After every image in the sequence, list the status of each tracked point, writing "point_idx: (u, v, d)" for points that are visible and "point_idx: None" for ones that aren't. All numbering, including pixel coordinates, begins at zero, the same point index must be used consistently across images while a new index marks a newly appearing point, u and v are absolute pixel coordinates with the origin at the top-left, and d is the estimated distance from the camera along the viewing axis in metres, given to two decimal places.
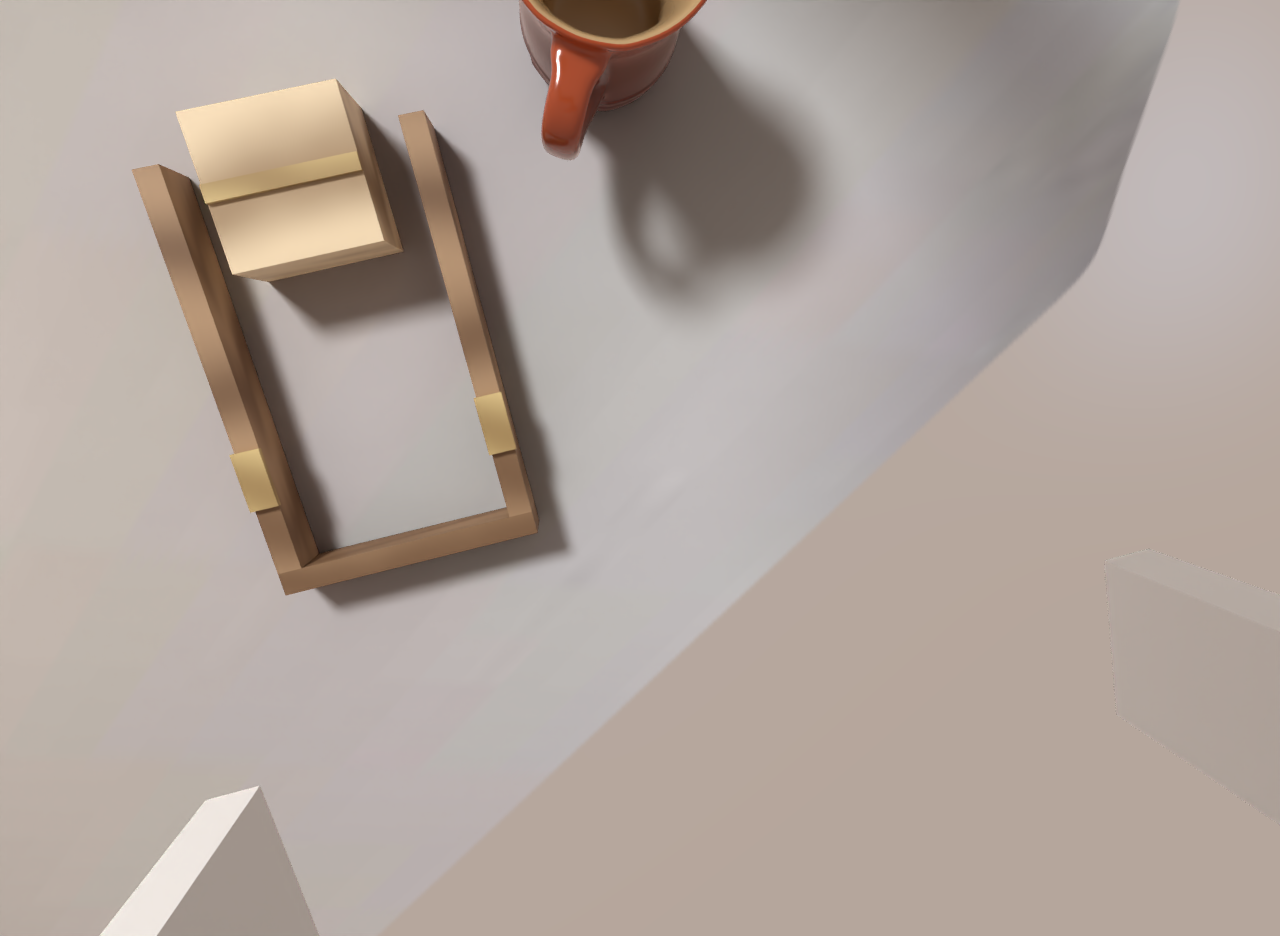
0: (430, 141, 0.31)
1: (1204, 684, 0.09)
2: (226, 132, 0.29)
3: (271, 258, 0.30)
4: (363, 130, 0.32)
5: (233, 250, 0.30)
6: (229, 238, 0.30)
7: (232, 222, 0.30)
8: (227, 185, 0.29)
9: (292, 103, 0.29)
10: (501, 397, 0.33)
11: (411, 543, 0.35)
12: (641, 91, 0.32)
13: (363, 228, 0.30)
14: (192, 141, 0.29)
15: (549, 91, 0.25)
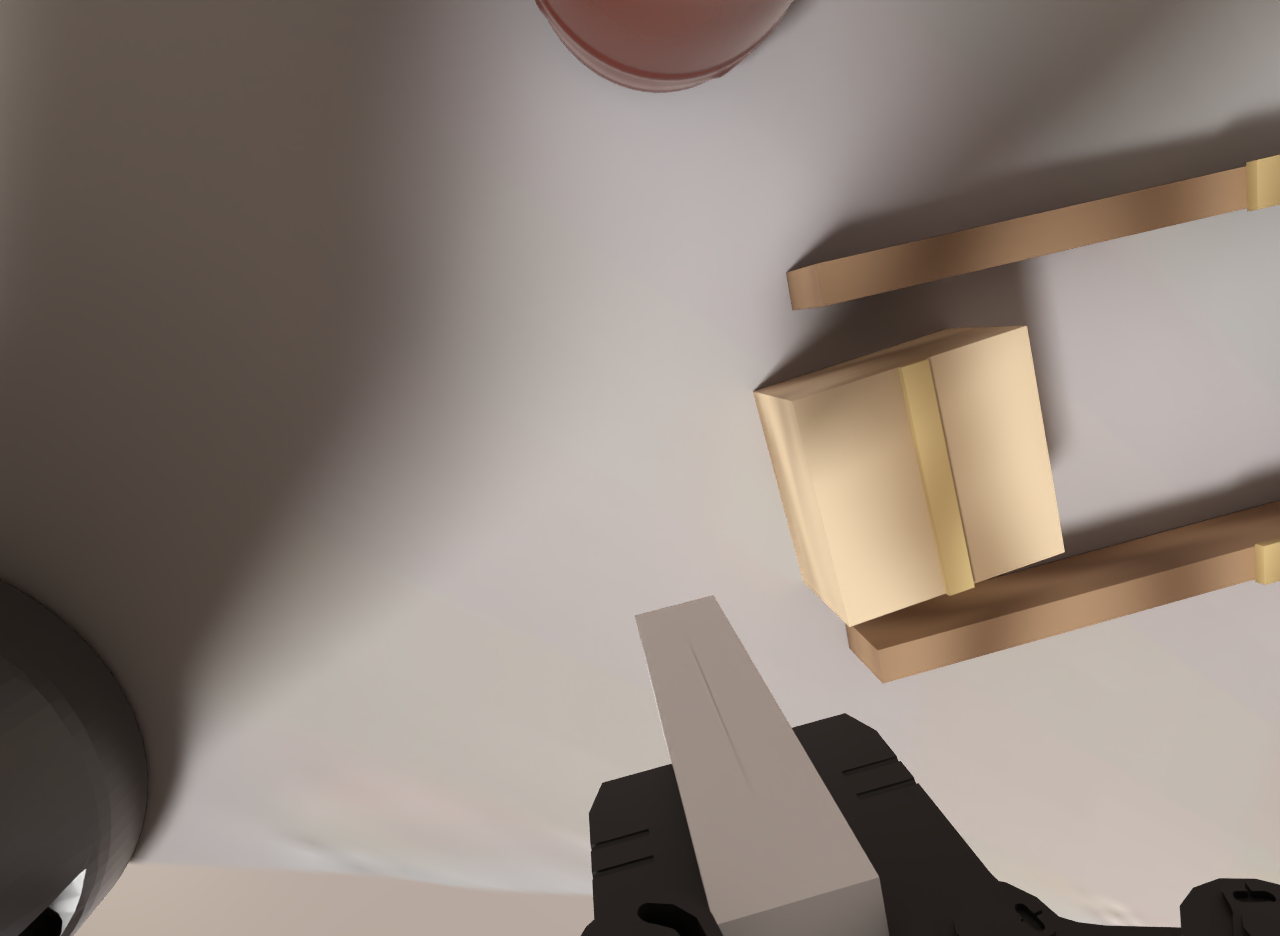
0: (861, 256, 0.19)
1: None
2: (874, 559, 0.19)
3: (1046, 497, 0.19)
4: (804, 380, 0.21)
5: (1032, 550, 0.20)
6: (1016, 555, 0.20)
7: (995, 551, 0.20)
8: (950, 557, 0.19)
9: (831, 466, 0.18)
10: (1263, 160, 0.19)
11: None
12: None
13: (1008, 358, 0.19)
14: (887, 604, 0.20)
15: None
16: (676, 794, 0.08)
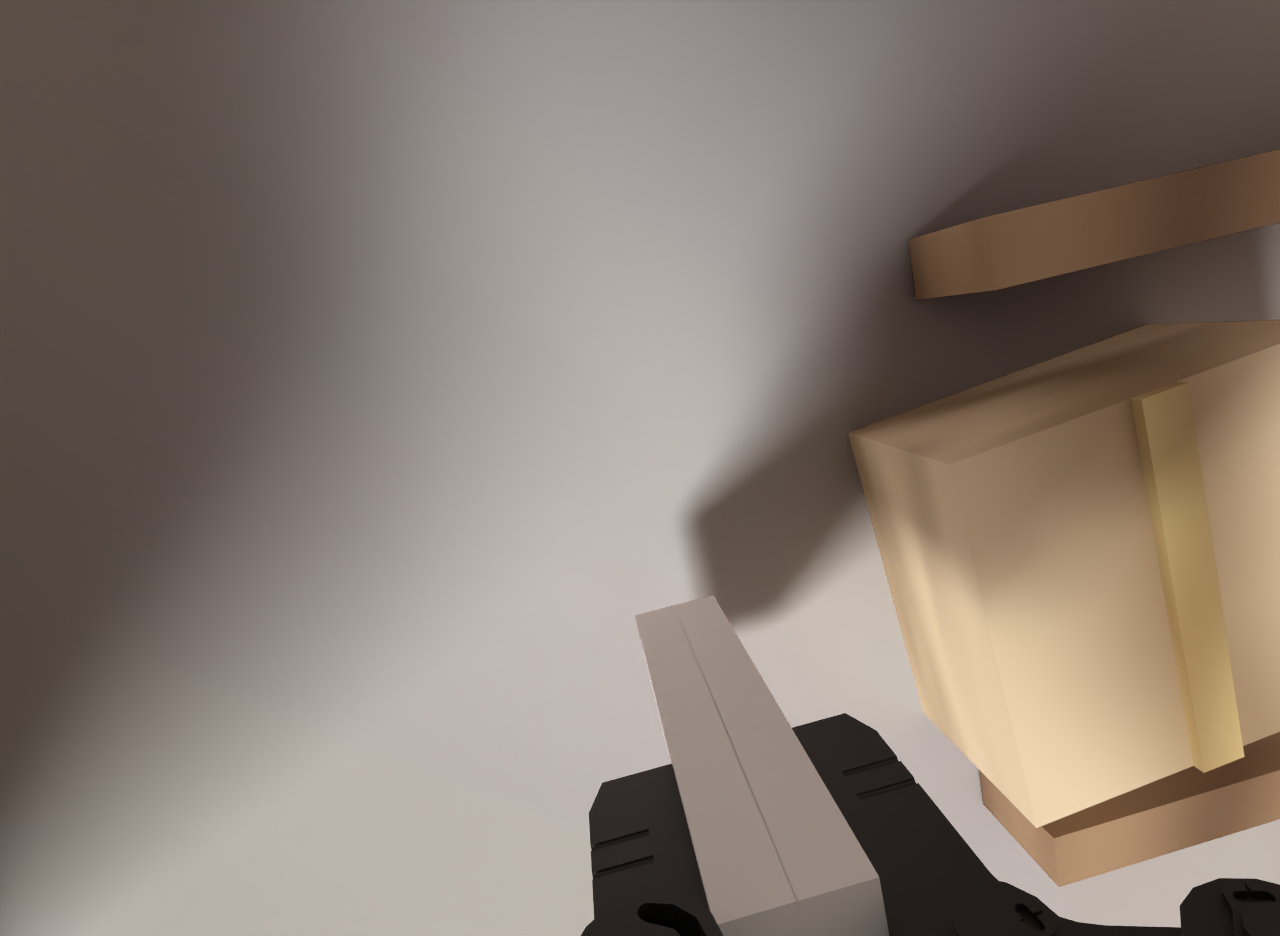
0: (1063, 203, 0.11)
1: None
2: (1080, 719, 0.11)
3: None
4: (936, 416, 0.13)
5: None
6: None
7: (1275, 695, 0.12)
8: (1208, 712, 0.11)
9: (1014, 571, 0.11)
10: None
11: None
12: None
13: None
14: (1098, 789, 0.12)
15: None
16: (676, 795, 0.08)
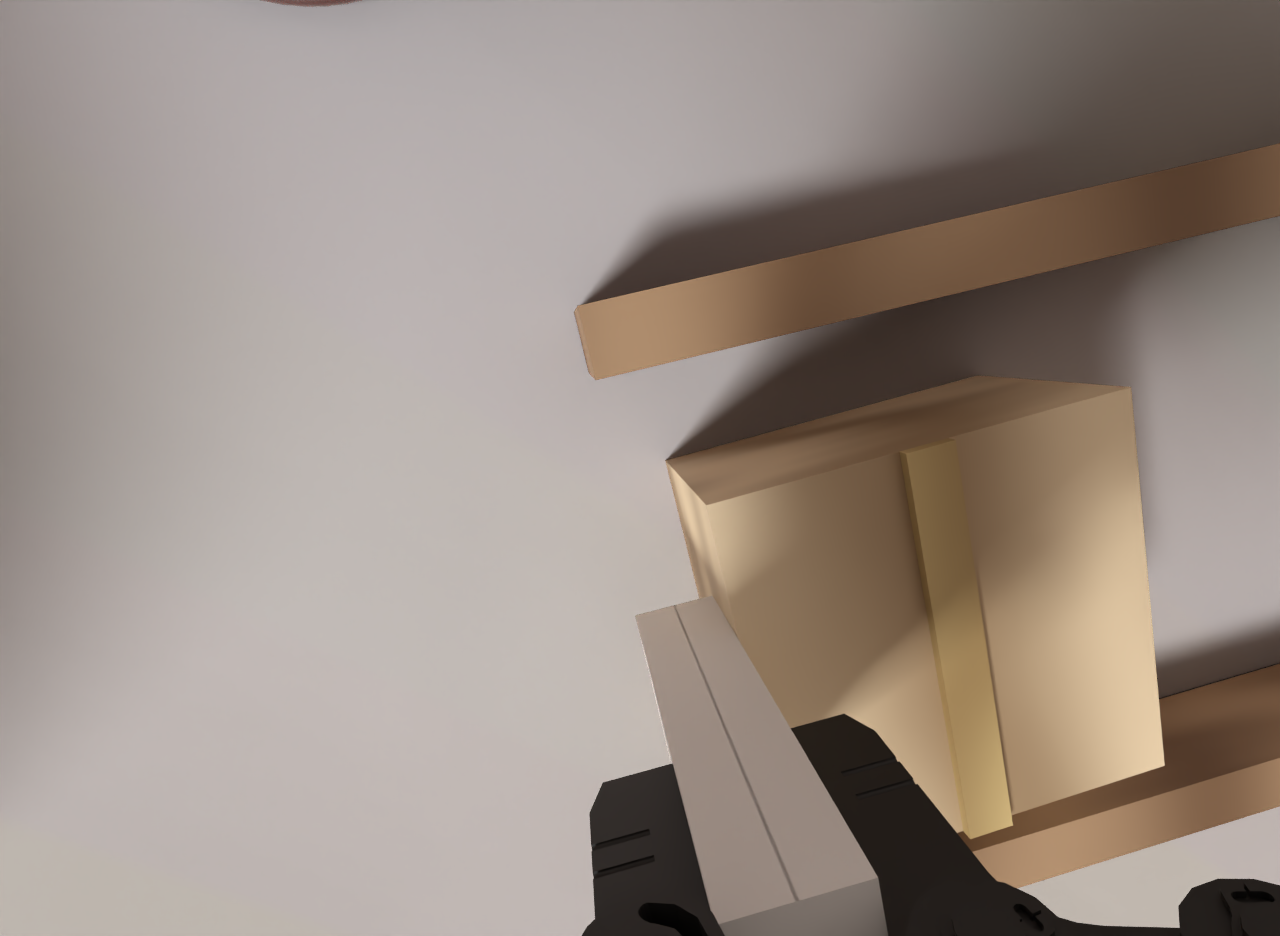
0: (661, 290, 0.11)
1: None
2: None
3: (1141, 677, 0.11)
4: (744, 452, 0.13)
5: (1112, 762, 0.12)
6: (1085, 771, 0.12)
7: (1049, 764, 0.12)
8: (975, 777, 0.11)
9: (774, 619, 0.10)
10: None
11: None
12: None
13: (1094, 443, 0.10)
14: None
15: None
16: (676, 794, 0.08)
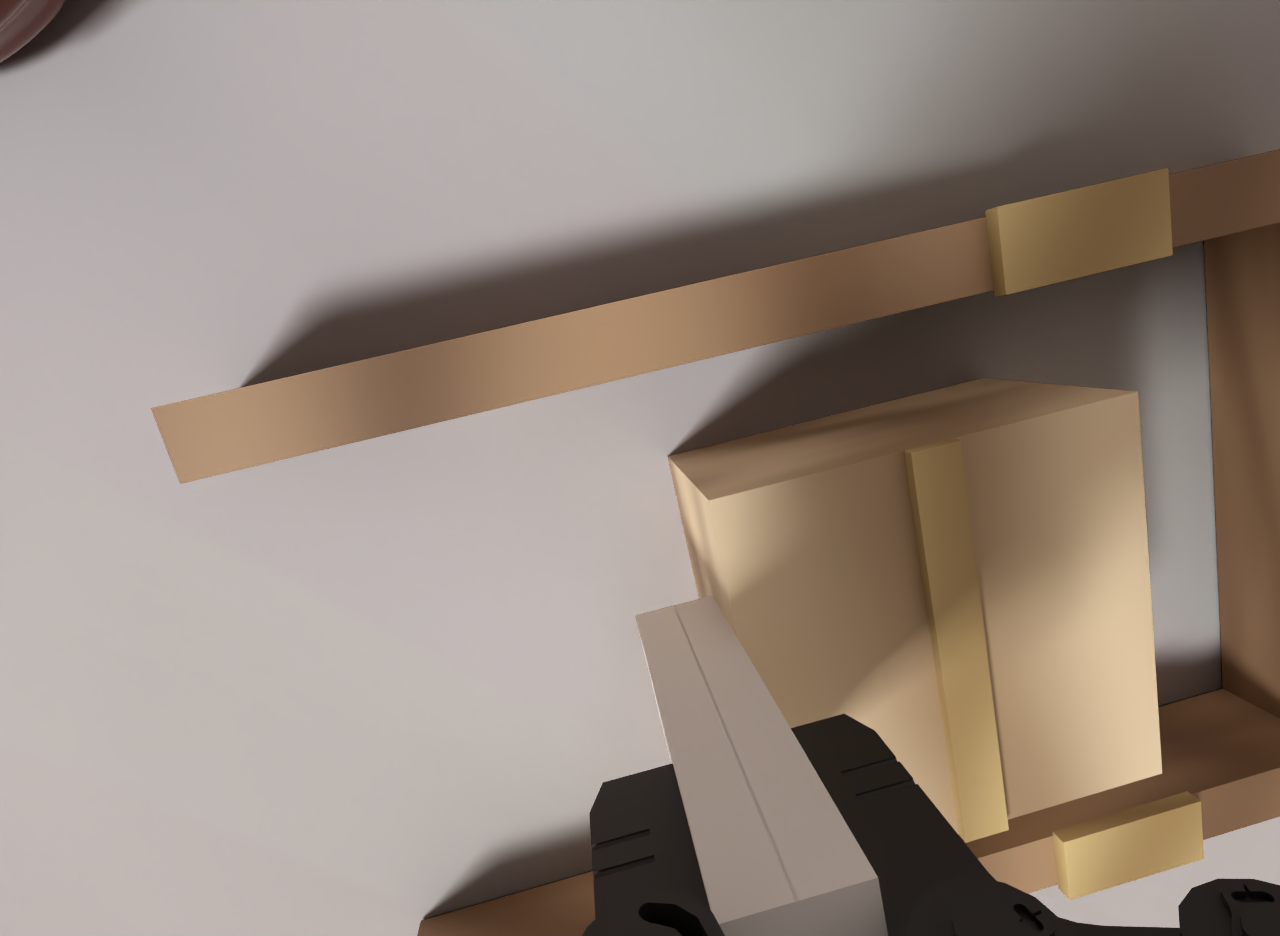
0: (242, 392, 0.10)
1: None
2: None
3: (1141, 684, 0.11)
4: (747, 449, 0.13)
5: (1109, 769, 0.12)
6: (1082, 777, 0.12)
7: (1047, 769, 0.11)
8: (972, 780, 0.11)
9: (774, 616, 0.10)
10: (1011, 206, 0.11)
11: None
12: None
13: (1100, 447, 0.10)
14: None
15: None
16: (676, 794, 0.08)
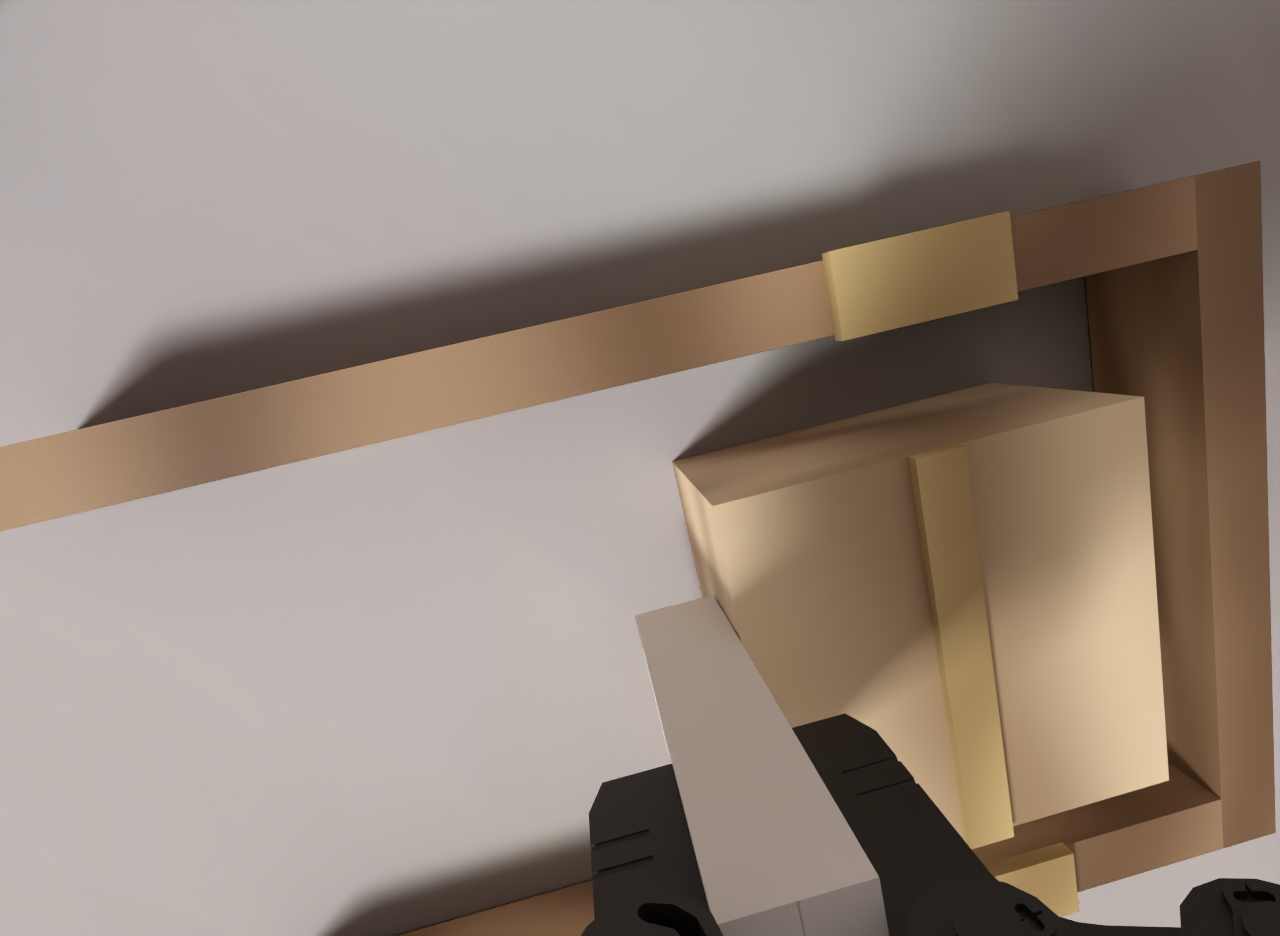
0: (41, 442, 0.10)
1: None
2: None
3: (1147, 690, 0.11)
4: (751, 454, 0.12)
5: (1116, 776, 0.12)
6: (1088, 783, 0.12)
7: (1052, 776, 0.11)
8: (977, 787, 0.11)
9: (778, 622, 0.10)
10: (845, 250, 0.10)
11: (1216, 538, 0.12)
12: None
13: (1105, 453, 0.10)
14: None
15: None
16: (675, 793, 0.08)
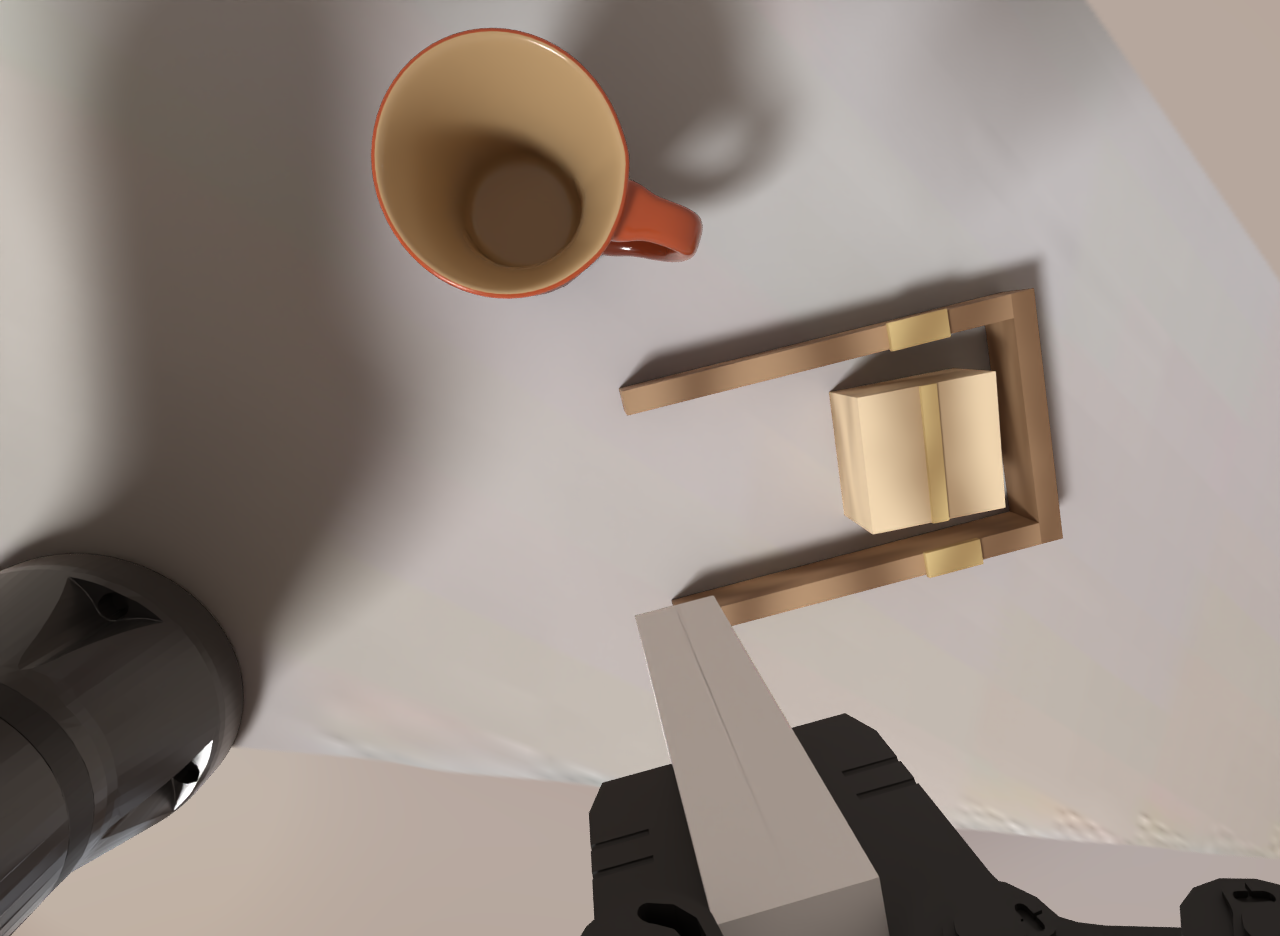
0: (648, 386, 0.32)
1: None
2: (892, 495, 0.33)
3: (997, 472, 0.33)
4: (861, 388, 0.35)
5: (986, 503, 0.33)
6: (976, 505, 0.33)
7: (963, 501, 0.33)
8: (937, 500, 0.33)
9: (874, 437, 0.32)
10: (893, 322, 0.32)
11: (1028, 419, 0.34)
12: None
13: (982, 388, 0.32)
14: (896, 524, 0.33)
15: (663, 242, 0.24)
16: (676, 794, 0.08)
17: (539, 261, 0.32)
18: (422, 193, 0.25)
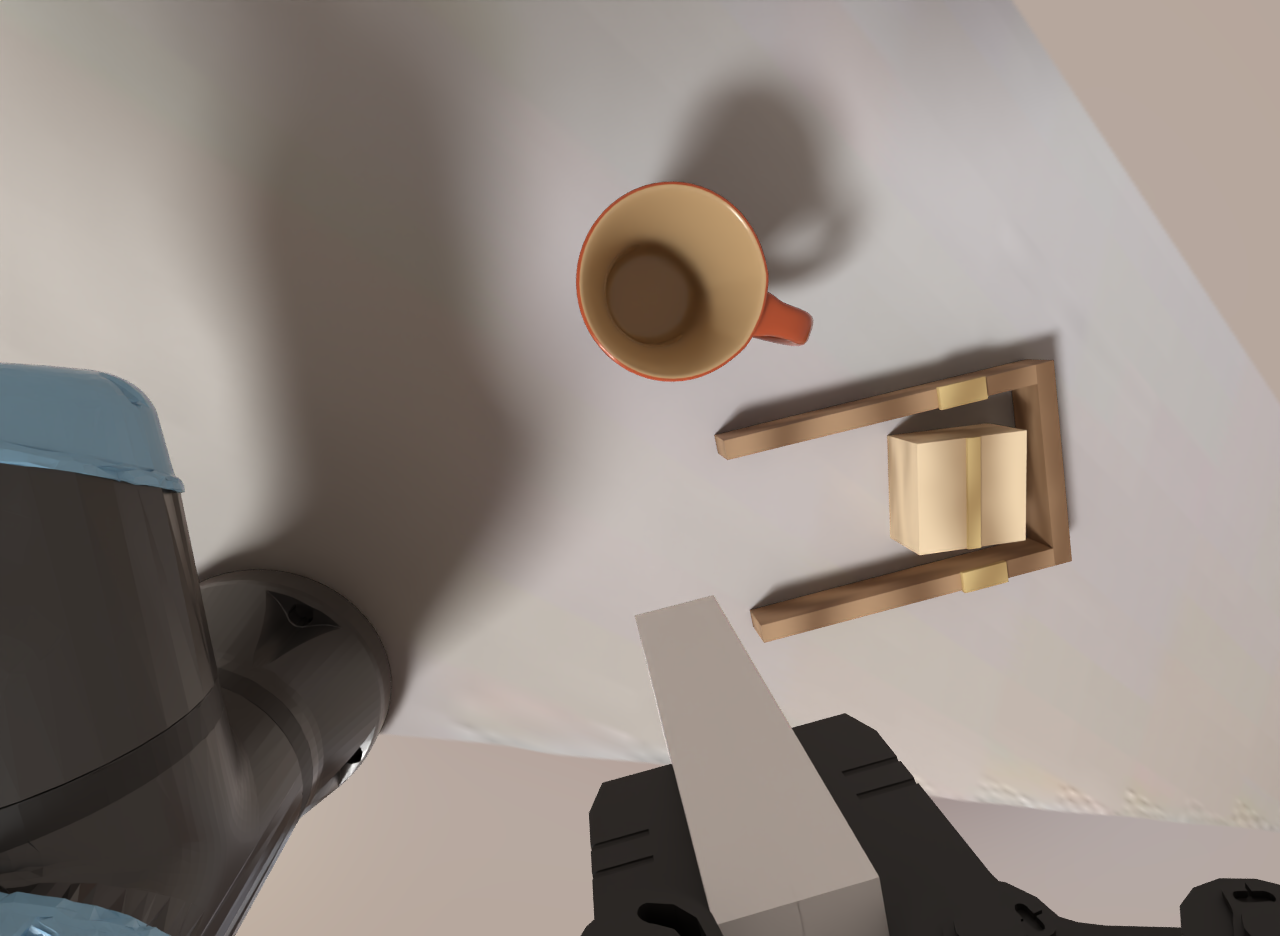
0: (745, 436, 0.39)
1: None
2: (937, 524, 0.41)
3: (1021, 511, 0.41)
4: (915, 435, 0.42)
5: (1010, 536, 0.41)
6: (1002, 537, 0.41)
7: (993, 533, 0.41)
8: (972, 531, 0.41)
9: (927, 476, 0.40)
10: (943, 387, 0.40)
11: (1047, 464, 0.42)
12: None
13: (1015, 443, 0.40)
14: (938, 548, 0.41)
15: (787, 337, 0.32)
16: (676, 795, 0.08)
17: (659, 333, 0.39)
18: (599, 295, 0.32)
